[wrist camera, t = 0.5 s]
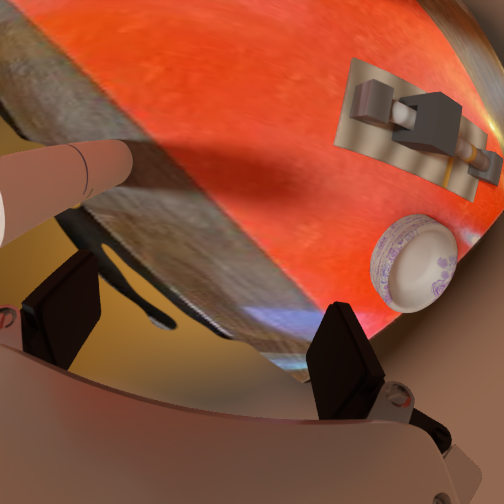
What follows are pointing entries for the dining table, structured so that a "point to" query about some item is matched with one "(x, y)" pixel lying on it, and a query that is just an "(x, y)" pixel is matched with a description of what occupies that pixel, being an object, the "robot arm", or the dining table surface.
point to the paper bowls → (413, 262)
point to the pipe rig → (392, 111)
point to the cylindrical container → (56, 181)
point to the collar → (431, 124)
